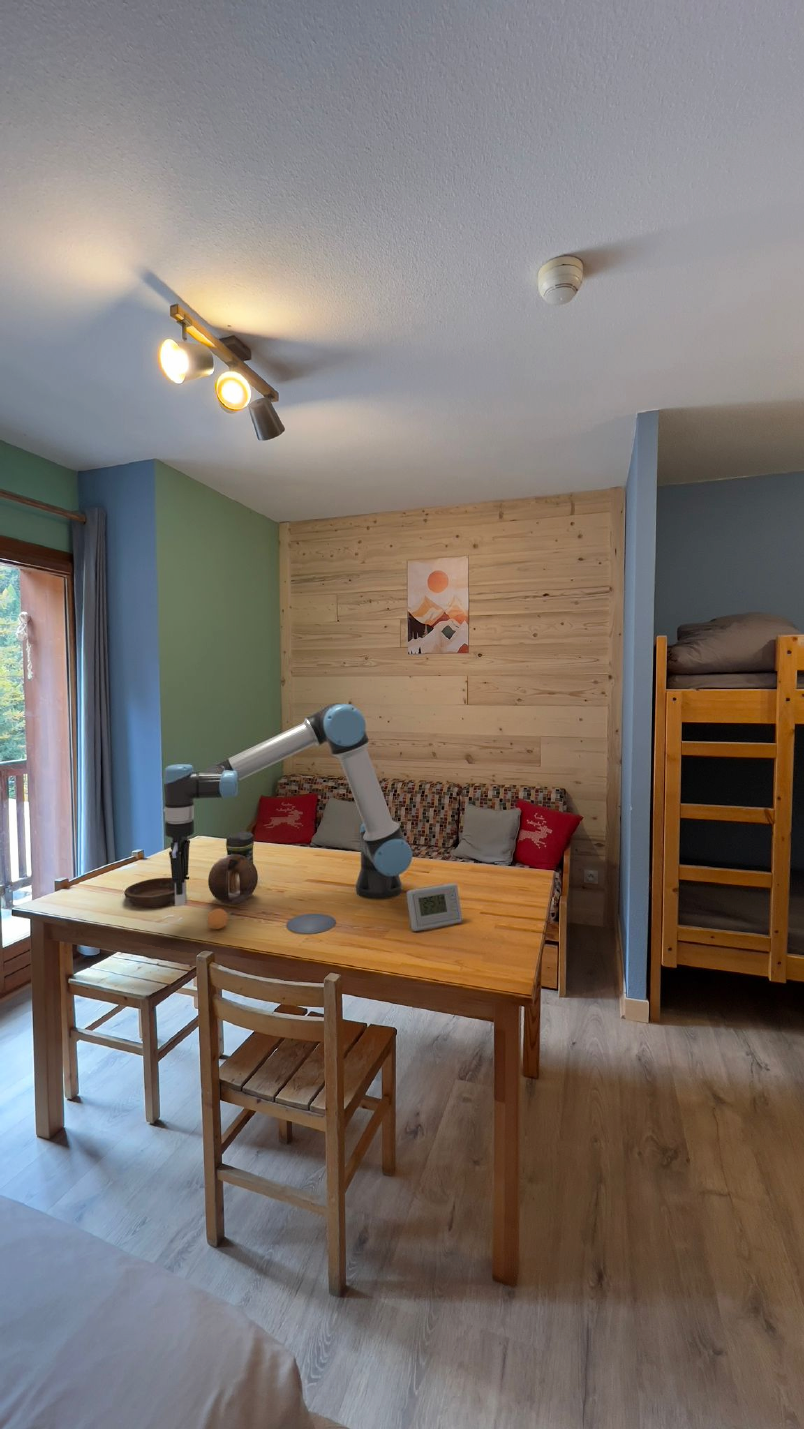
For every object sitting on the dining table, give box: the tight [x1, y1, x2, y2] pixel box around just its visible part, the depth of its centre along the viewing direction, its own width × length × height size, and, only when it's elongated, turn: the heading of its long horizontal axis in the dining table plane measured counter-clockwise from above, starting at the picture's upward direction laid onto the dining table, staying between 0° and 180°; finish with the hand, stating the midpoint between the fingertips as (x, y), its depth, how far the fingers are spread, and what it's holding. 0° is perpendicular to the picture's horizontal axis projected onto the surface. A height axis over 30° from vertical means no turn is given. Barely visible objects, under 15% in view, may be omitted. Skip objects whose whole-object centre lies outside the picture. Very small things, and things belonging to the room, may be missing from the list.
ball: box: [206, 908, 229, 930], centre depth 167 cm, size 6×6×6 cm
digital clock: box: [405, 882, 463, 932], centre depth 168 cm, size 16×9×11 cm, turn 102°
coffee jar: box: [225, 830, 255, 864], centre depth 200 cm, size 10×8×19 cm
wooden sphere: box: [207, 854, 259, 905], centre depth 187 cm, size 15×15×15 cm
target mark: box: [285, 913, 337, 935], centre depth 170 cm, size 14×14×1 cm
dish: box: [124, 877, 188, 909], centre depth 189 cm, size 18×22×5 cm
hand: (180, 904), depth 166 cm, fingers closed
